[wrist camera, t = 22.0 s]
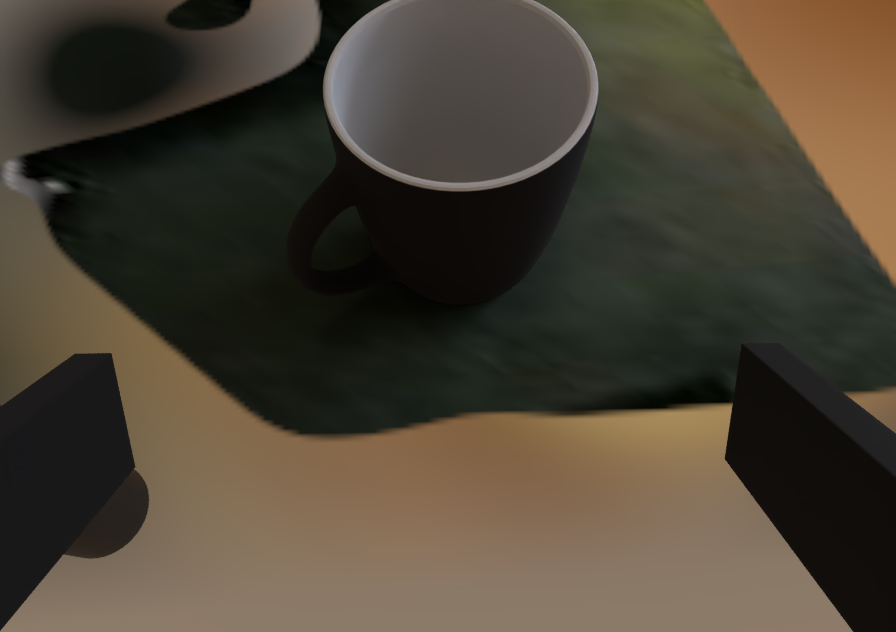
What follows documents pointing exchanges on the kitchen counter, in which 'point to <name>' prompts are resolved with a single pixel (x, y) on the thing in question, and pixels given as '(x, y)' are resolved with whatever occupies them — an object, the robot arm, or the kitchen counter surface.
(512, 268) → the mug
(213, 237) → the kitchen counter surface
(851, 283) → the kitchen counter surface
